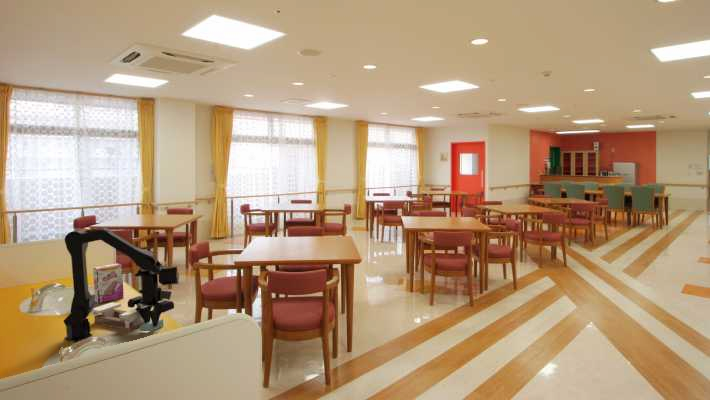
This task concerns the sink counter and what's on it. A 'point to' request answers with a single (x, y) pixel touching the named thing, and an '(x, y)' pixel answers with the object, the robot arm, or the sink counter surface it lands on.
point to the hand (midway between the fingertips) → (151, 325)
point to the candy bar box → (108, 283)
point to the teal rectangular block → (151, 326)
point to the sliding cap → (106, 309)
